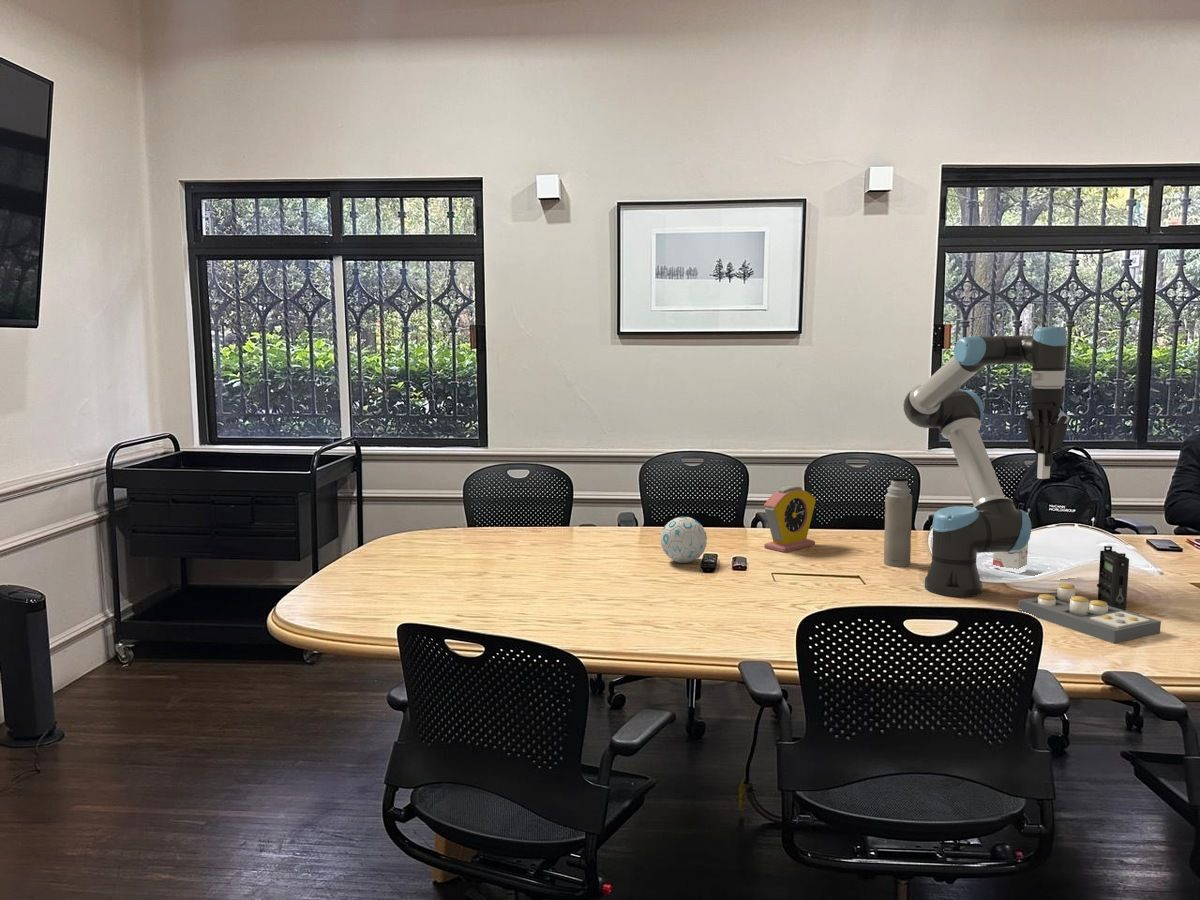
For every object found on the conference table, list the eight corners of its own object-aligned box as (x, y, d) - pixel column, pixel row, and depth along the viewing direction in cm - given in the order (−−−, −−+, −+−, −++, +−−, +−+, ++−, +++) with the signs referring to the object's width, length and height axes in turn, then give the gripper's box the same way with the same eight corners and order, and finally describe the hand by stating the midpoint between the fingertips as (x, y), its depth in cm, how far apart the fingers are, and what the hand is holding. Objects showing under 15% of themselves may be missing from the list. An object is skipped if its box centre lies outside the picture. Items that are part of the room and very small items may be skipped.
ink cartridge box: (991, 568, 255) (993, 522, 253) (1001, 566, 257) (1002, 520, 256) (1018, 574, 247) (1020, 526, 246) (1027, 572, 250) (1029, 524, 248)
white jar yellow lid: (1065, 613, 203) (1066, 597, 203) (1076, 611, 205) (1077, 595, 204) (1080, 618, 200) (1081, 601, 199) (1091, 615, 201) (1092, 599, 201)
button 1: (1033, 611, 212) (1034, 595, 211) (1044, 608, 213) (1045, 593, 213) (1047, 615, 208) (1048, 599, 208) (1058, 613, 210) (1059, 597, 209)
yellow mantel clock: (778, 554, 277) (779, 491, 274) (758, 549, 284) (758, 488, 282) (820, 544, 290) (821, 484, 287) (799, 539, 297) (800, 481, 295)
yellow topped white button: (1084, 617, 206) (1085, 601, 206) (1096, 615, 208) (1096, 599, 207) (1099, 622, 202) (1100, 605, 202) (1111, 619, 204) (1111, 603, 203)
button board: (1018, 611, 213) (1019, 597, 213) (1062, 603, 219) (1062, 589, 219) (1113, 643, 189) (1114, 627, 189) (1160, 633, 195) (1161, 618, 195)
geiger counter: (1091, 598, 223) (1094, 544, 221) (1110, 599, 222) (1113, 545, 220) (1108, 610, 213) (1111, 554, 211) (1127, 611, 212) (1131, 554, 210)
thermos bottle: (879, 563, 262) (881, 477, 259) (890, 559, 268) (892, 474, 265) (903, 568, 257) (905, 480, 253) (914, 563, 262) (917, 477, 259)
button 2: (1053, 599, 214) (1054, 584, 214) (1064, 597, 216) (1065, 582, 215) (1067, 604, 210) (1068, 588, 210) (1078, 602, 212) (1079, 586, 211)
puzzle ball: (661, 556, 277) (661, 512, 276) (706, 556, 276) (706, 512, 274) (660, 567, 262) (660, 521, 261) (707, 568, 261) (707, 522, 259)
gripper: (1015, 387, 215) (1011, 475, 218) (1059, 388, 203) (1055, 482, 206) (1036, 386, 218) (1032, 473, 220) (1081, 387, 206) (1076, 480, 208)
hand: (1043, 478), depth 213 cm, fingers closed
